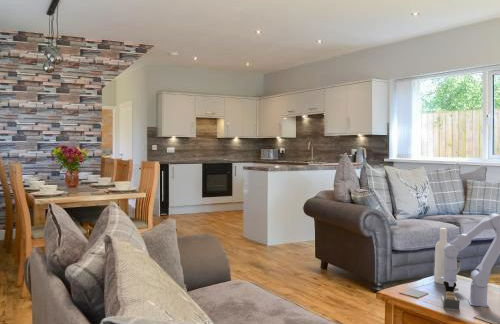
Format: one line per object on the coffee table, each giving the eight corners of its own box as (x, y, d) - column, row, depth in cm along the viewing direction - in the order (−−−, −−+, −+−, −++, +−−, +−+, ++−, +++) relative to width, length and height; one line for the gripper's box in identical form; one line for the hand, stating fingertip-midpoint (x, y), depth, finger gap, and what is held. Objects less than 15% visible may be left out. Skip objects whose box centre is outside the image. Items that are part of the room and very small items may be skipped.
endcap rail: (441, 298, 230) (441, 289, 230) (455, 300, 228) (456, 290, 228) (444, 309, 215) (444, 299, 215) (459, 310, 213) (459, 300, 213)
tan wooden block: (446, 301, 224) (446, 291, 224) (453, 302, 223) (453, 292, 223) (447, 307, 215) (447, 296, 215) (455, 308, 214) (455, 297, 214)
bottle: (450, 284, 254) (452, 229, 253) (435, 283, 256) (437, 229, 255) (447, 280, 262) (449, 227, 261) (432, 279, 264) (434, 226, 263)
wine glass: (462, 291, 243) (463, 262, 243) (446, 290, 243) (447, 262, 243) (455, 286, 251) (456, 258, 251) (440, 286, 251) (441, 258, 251)
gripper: (439, 265, 234) (439, 291, 235) (442, 272, 221) (441, 300, 221) (455, 266, 232) (454, 293, 233) (458, 273, 218) (457, 302, 219)
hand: (449, 297), depth 227 cm, fingers closed
